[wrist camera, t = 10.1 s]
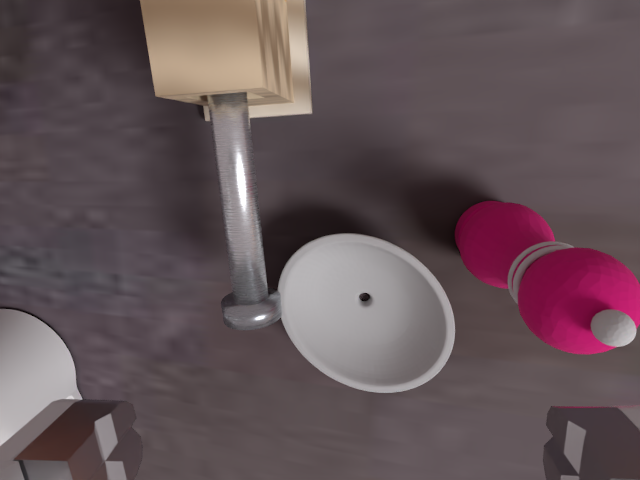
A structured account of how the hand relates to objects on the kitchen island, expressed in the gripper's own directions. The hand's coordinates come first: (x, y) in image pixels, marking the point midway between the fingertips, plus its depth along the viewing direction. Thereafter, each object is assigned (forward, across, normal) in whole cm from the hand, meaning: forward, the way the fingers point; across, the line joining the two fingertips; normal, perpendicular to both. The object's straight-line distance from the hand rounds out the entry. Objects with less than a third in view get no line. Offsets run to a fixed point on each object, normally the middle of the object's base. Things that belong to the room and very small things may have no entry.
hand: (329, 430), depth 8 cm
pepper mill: (+31, -13, +4) cm, 34 cm away
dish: (+31, -1, +11) cm, 33 cm away
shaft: (+24, +8, -4) cm, 26 cm away
